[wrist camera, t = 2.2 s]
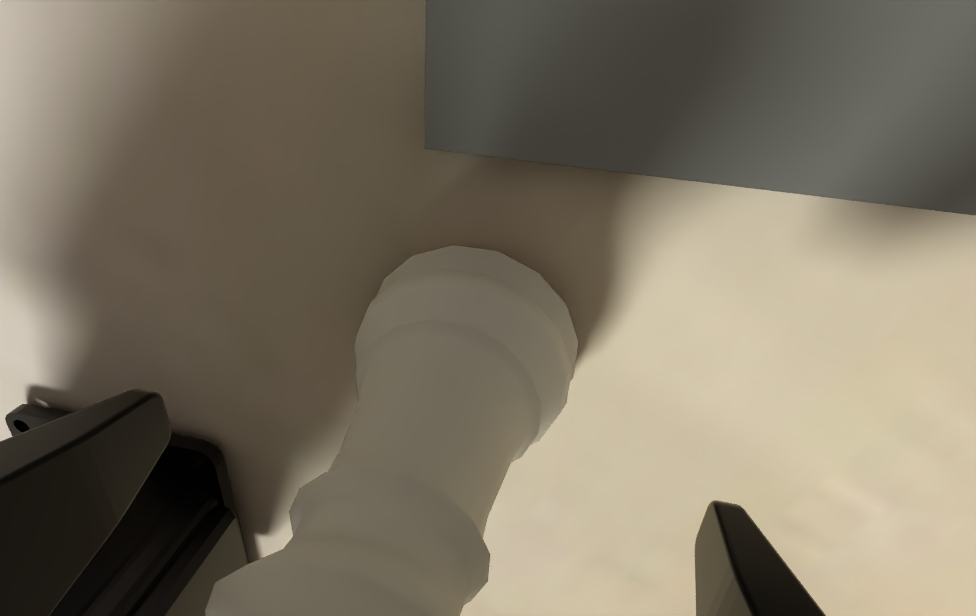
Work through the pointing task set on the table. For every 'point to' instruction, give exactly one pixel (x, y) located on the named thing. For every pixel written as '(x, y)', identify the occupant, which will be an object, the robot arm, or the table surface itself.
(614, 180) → the table surface
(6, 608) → the robot arm
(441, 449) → the rook chess piece
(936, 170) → the rubber mat
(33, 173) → the table surface
